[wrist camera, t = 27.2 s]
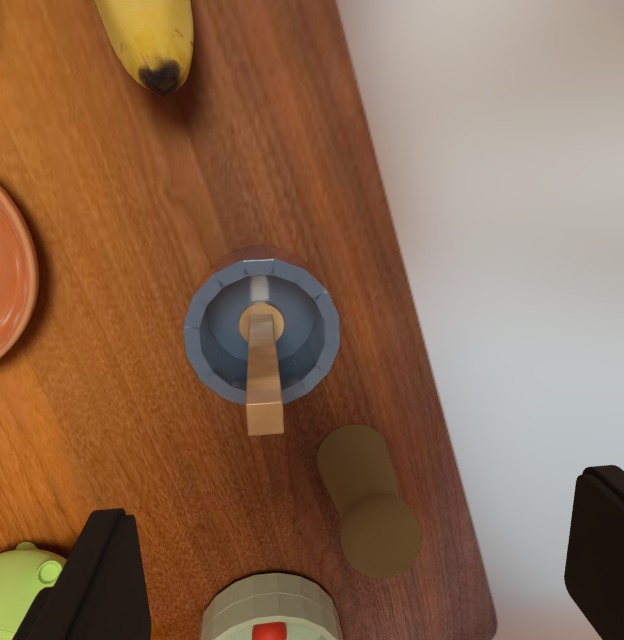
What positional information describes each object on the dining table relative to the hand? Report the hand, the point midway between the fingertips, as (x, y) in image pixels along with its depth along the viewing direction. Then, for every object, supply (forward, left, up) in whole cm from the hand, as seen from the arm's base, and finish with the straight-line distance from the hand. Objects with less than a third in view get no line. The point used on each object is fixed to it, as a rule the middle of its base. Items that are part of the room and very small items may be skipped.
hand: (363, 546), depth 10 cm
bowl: (+3, +31, -27) cm, 41 cm away
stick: (+2, +3, -26) cm, 27 cm away
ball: (+3, +30, -25) cm, 39 cm away
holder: (+2, +2, -27) cm, 27 cm away
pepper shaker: (-5, +15, -27) cm, 31 cm away
